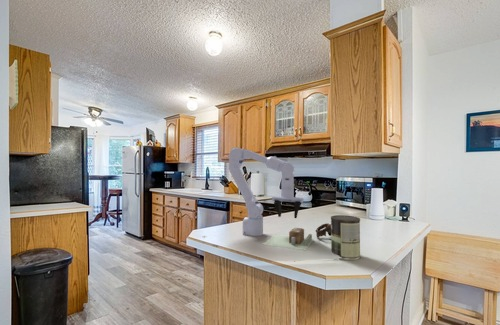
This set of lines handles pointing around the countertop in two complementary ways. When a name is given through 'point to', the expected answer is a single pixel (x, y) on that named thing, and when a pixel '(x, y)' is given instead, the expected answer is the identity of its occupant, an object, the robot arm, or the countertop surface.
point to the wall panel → (284, 242)
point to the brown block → (296, 235)
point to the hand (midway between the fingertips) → (287, 217)
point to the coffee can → (345, 237)
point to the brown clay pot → (323, 232)
